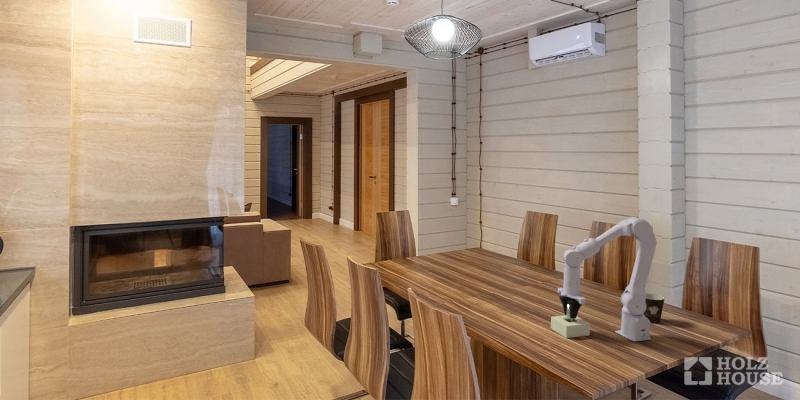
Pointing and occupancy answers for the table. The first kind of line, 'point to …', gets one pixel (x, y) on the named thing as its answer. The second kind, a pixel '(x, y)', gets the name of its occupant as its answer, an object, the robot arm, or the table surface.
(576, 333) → the bore block
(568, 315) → the pin
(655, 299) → the coffee mug
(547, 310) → the table surface
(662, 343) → the table surface
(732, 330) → the table surface
